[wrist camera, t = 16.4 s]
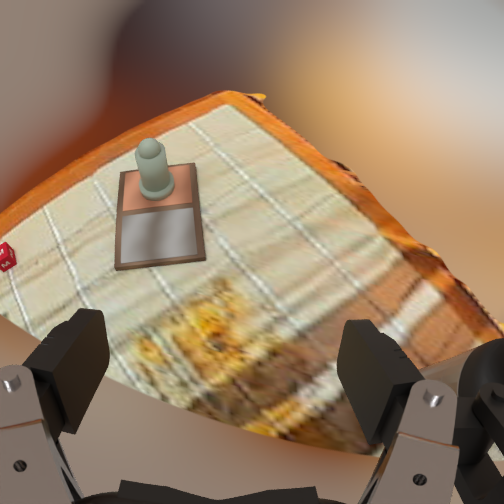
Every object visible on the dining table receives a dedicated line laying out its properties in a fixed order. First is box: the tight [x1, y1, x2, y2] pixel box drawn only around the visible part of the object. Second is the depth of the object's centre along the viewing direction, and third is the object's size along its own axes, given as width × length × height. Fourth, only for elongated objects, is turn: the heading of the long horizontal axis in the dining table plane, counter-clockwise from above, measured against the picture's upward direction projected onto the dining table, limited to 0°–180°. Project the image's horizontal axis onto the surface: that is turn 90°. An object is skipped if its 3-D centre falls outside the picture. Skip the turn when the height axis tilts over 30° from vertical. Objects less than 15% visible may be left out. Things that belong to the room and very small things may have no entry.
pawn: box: [135, 138, 175, 201], centre depth 45 cm, size 6×6×10 cm
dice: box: [0, 242, 17, 272], centre depth 41 cm, size 3×3×3 cm
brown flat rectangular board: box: [114, 163, 205, 271], centre depth 48 cm, size 13×18×1 cm
